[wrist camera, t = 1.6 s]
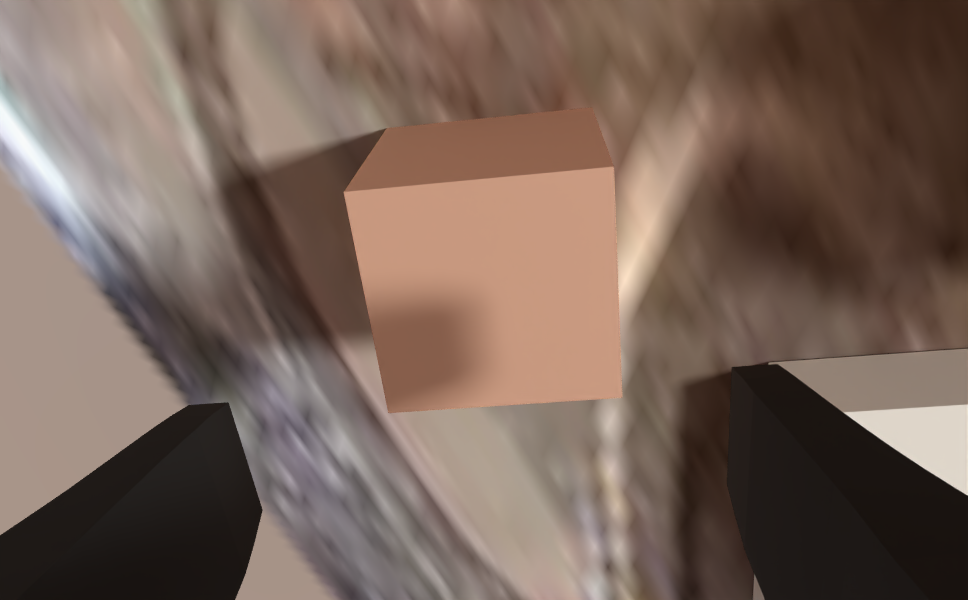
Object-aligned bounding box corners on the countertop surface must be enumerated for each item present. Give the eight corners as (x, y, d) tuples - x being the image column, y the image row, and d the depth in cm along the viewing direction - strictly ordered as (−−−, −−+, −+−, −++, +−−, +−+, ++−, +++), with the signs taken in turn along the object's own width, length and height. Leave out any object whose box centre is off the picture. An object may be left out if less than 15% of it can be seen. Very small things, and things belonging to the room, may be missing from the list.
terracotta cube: (600, 293, 20) (622, 397, 16) (417, 307, 21) (388, 413, 16) (591, 106, 18) (613, 166, 14) (387, 127, 18) (343, 191, 14)
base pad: (1067, 603, 24) (1122, 672, 22) (751, 616, 25) (774, 683, 23) (1155, 335, 20) (1235, 387, 18) (768, 362, 21) (797, 415, 19)
